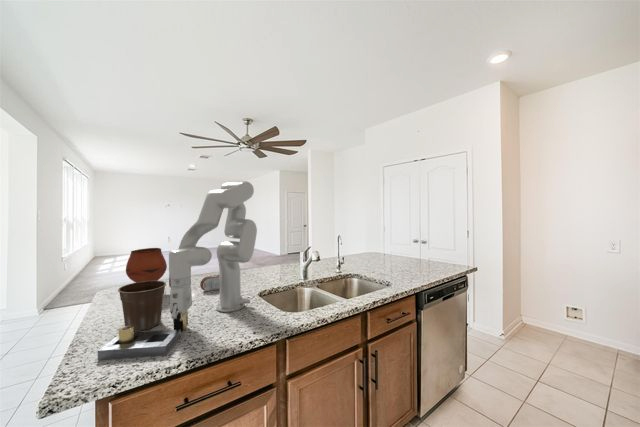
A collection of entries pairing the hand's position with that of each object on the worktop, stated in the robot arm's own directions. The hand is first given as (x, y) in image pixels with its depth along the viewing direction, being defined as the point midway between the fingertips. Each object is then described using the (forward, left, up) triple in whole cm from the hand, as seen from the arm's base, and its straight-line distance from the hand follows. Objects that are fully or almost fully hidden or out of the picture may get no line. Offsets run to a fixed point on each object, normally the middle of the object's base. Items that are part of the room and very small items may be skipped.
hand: (180, 328), depth 103 cm
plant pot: (+17, -7, -1) cm, 18 cm away
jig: (+8, +12, -1) cm, 14 cm away
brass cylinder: (0, 0, -1) cm, 1 cm away
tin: (+1, -52, -1) cm, 52 cm away
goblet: (+36, -49, -1) cm, 61 cm away
